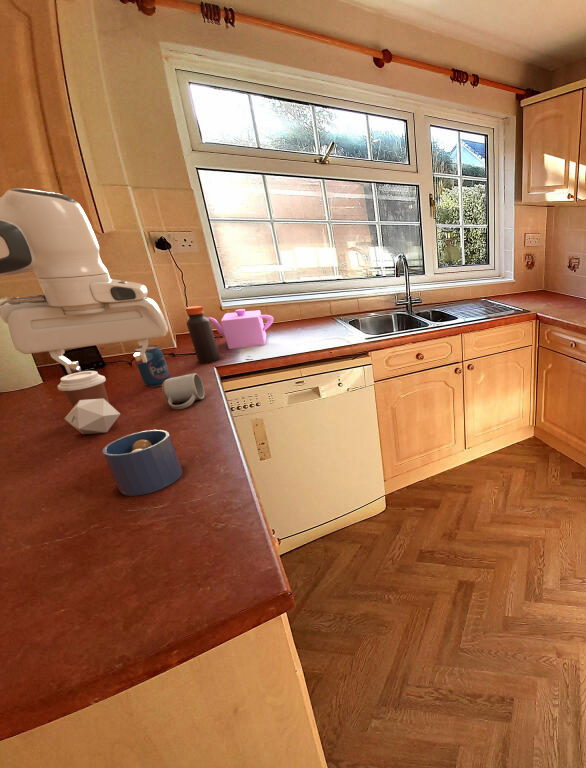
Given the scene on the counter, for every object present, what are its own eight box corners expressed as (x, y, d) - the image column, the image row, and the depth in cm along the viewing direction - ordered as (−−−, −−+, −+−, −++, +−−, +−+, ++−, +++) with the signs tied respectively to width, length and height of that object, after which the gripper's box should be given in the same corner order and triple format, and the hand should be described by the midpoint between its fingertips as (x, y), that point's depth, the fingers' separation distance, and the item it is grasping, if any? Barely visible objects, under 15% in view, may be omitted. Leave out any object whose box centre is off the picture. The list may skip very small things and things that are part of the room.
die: (80, 431, 108) (46, 413, 99) (112, 404, 112) (82, 385, 103) (103, 446, 106) (70, 430, 97) (135, 419, 110) (107, 400, 102)
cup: (116, 502, 79) (97, 461, 76) (123, 477, 87) (107, 439, 83) (181, 484, 84) (167, 444, 81) (183, 461, 92) (170, 425, 88)
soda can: (161, 387, 133) (148, 351, 128) (139, 387, 133) (125, 351, 128) (177, 379, 139) (165, 344, 135) (156, 379, 139) (143, 344, 135)
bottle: (197, 360, 157) (180, 307, 150) (218, 356, 161) (203, 304, 154) (200, 364, 153) (183, 310, 145) (222, 360, 157) (206, 307, 149)
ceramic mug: (173, 398, 124) (165, 374, 121) (206, 393, 127) (199, 369, 124) (163, 413, 115) (153, 387, 112) (198, 407, 118) (190, 382, 115)
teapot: (213, 342, 180) (203, 309, 175) (278, 334, 191) (271, 303, 185) (207, 351, 168) (197, 317, 162) (278, 342, 178) (270, 309, 173)
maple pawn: (139, 481, 84) (125, 447, 81) (141, 471, 87) (127, 439, 84) (164, 474, 86) (151, 441, 83) (165, 465, 89) (153, 433, 87)
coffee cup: (124, 414, 115) (107, 373, 110) (79, 427, 108) (59, 384, 103) (113, 407, 119) (96, 367, 115) (69, 419, 113) (50, 377, 108)
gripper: (-16, 301, 65) (24, 384, 70) (152, 288, 76) (176, 361, 81) (-1, 296, 70) (35, 374, 75) (155, 284, 81) (177, 353, 86)
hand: (109, 367), depth 78 cm, fingers open, 8 cm apart
